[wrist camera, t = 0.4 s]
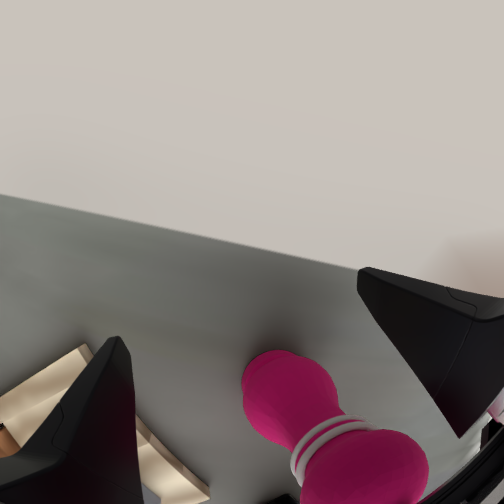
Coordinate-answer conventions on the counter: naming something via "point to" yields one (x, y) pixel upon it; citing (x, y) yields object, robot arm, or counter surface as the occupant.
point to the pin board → (149, 447)
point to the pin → (7, 443)
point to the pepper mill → (329, 436)
